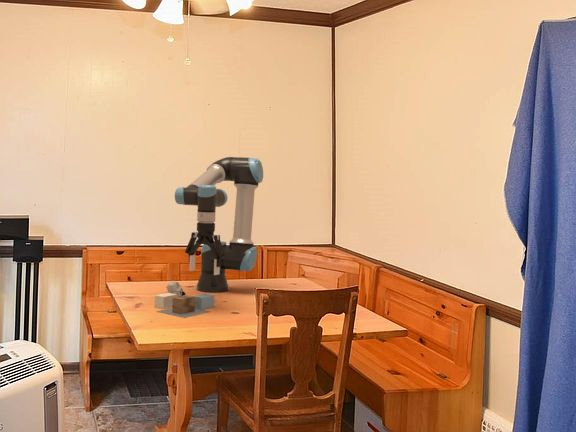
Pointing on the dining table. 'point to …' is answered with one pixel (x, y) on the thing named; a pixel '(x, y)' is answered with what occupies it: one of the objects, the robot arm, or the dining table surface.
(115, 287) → the dining table surface
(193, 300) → the brick base
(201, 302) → the brick top
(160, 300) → the brick
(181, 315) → the build board
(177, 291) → the toy
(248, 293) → the dining table surface
